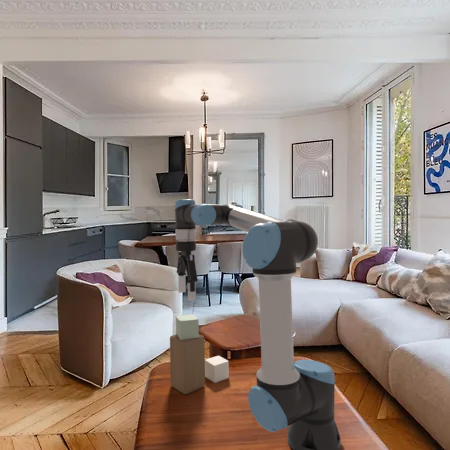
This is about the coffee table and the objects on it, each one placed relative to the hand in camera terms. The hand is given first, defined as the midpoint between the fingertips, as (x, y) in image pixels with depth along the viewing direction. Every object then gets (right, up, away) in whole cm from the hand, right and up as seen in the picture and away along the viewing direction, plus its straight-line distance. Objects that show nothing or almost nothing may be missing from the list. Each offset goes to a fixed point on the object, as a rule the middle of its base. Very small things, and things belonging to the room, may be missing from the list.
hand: (186, 296), depth 137 cm
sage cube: (0, -15, +1) cm, 15 cm away
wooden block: (0, -36, +2) cm, 36 cm away
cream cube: (+11, -35, +9) cm, 38 cm away
